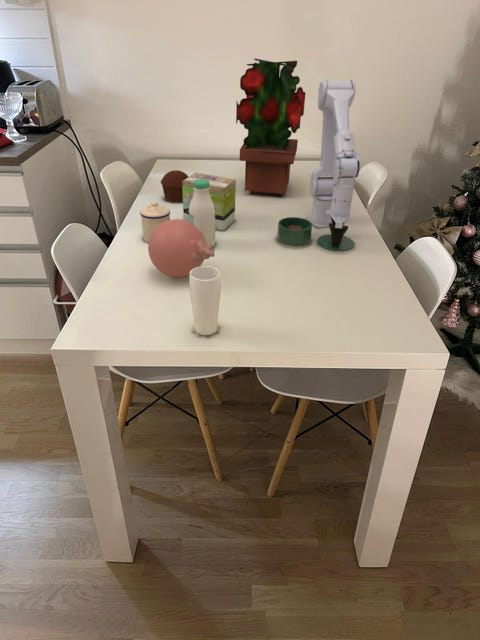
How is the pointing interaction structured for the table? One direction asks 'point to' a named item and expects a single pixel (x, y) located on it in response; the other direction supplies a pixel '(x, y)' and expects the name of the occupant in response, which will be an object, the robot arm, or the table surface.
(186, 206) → the tea box
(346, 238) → the lid
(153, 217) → the teacup with lid
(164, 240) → the balloon
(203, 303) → the drinking glass
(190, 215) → the milk bottle
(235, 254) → the table surface
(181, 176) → the muffin
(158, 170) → the table surface
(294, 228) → the block
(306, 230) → the pot
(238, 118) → the potted plant
